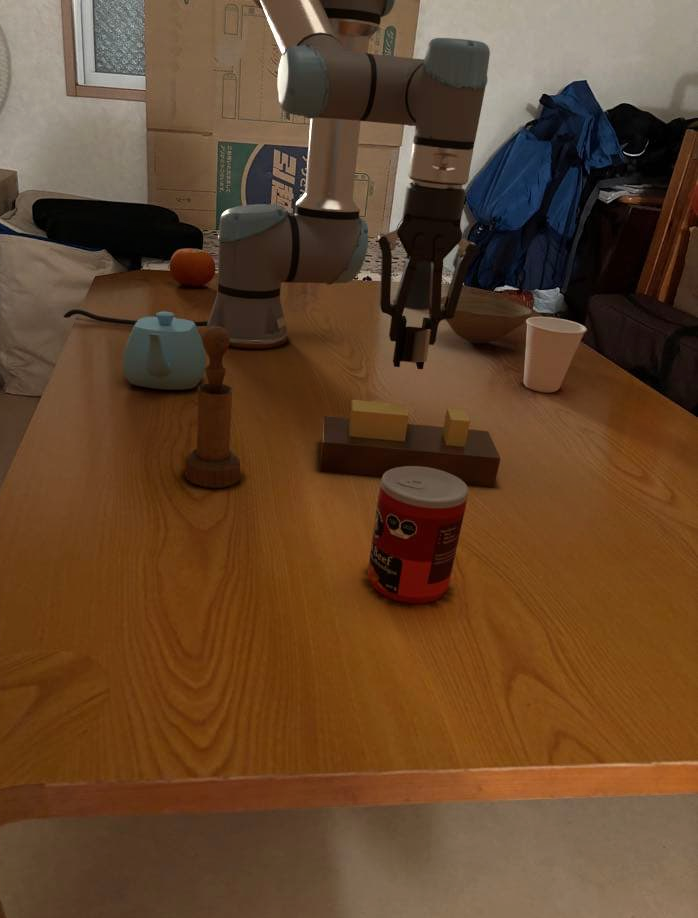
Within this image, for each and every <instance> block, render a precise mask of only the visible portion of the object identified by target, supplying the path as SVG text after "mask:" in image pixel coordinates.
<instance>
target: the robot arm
mask: <svg viewBox="0 0 698 918" xmlns="http://www.w3.org/2000/svg"><path fill="white" fill-rule="evenodd" d="M252 1H253V3H254V4H255V6H257V7H258V8H259V9H261V10H262V11H263V12H264V14H265V17H266V19H267V21H268V24H269V26H270V29H271V31H272V34H273V36H274V38H275V41H276V44H277V47H278V49H279V52H280V54H281V57H280V61H279V65H278V72H277V92H278V102H279V105H280V108H281V109H282V111H284V113H286V114H288V115H294V116H302V117H303V118H306V119H310V123H309V135H308V136H309V139H308V151H307V164H306V174H305V175H306V176H305V190H304V193H303V195H302V196H301V197H300V198H299V199H298V200H297V201H296V202H295V211H294V214H287V213H288V212H287V209H286V207H285V206H284V205H281V204H274V203H272V204H270V203H269V204H267V203H255V204H244V205H238V206H234V207H231V208H228V209H226V210H225V211H223V213H222V214H221V216H220V220H219V227H218V236H217V242H218V257H217V258H218V261H217V293H216V297H215V300H214V302H213V306H212V309H211V312H210V315H209V317H208V320H197V321H195V320H194V321H193V322H194V323H195V325H196V327H206V330H207V329H208V328H210V327H222V328H223V329H225V330H226V331H227V333H228V335H229V338H230V344H229V348H230V347H231V348H236V349H237V348H238V349H248V350H249V349H250V350H261V349H263V350H264V349H273V348H277V347H280V346H283V345H284V344H286V343H287V339H288V328H287V322H286V318H285V316H284V310H283V307H282V303H281V287H282V283H289V284H290V283H294V284H296V283H297V284H298V283H299V284H325V285H335V284H349V283H350V282H352V281H354V279H355V278H357V276H358V275H359V273H360V272H361V270H362V268H363V266H364V262H365V260H366V257H367V252H368V247H369V235H368V233H369V227H368V223H367V221H366V220H365V219H364V218H362V217H361V216H360V213H361V212H360V211H361V208H360V206H359V205H358V203H357V202H356V201H355V199H354V189H355V188H354V187H355V180H356V179H355V178H356V169H357V159H358V151H359V142H360V141H359V140H360V132H361V122H370V123H376V124H377V123H380V124H388V125H389V124H390V125H401V126H409V127H415V128H414V135H413V138H412V139H413V140H412V147H411V148H412V149H411V154H410V161H409V167H408V175H407V177H408V178H409V179H410V180H411V182H410V183H408V185H406V188H405V195H404V201H403V202H404V203H403V208H402V216H401V220H400V221H399V222H398V224H397V225H396V229H394V230H391V231H389V232H387V233H382V232H381V233H379V234H378V236H377V242H378V246H379V249H380V252H381V258H380V259H381V261H380V262H381V263H380V289H379V290H380V292H379V293H380V294H379V295H380V296H379V306H380V310H381V312H382V313H383V314H387V315H389V316H390V317H391V319H390V326H389V332H388V336H389V341H390V342H395V343H394V350H393V356H392V364H393V367H394V368H400V367H401V361H400V360H401V354H402V348H403V342H404V335H405V329H406V327H407V323H408V320H407V317H406V315H403V314H404V311H405V308H406V307H405V304H406V301H407V297H408V294H409V290H410V287H411V283H412V280H413V276H414V273H415V270H416V268H417V265H418V262H420V261H428V262H431V283H430V308H429V309H428V310H429V313H428V315H429V316H428V317H423V319H422V324H421V328H427V330H431V331H430V339H429V346H434V345H435V343H436V341H437V333H438V329H439V325H440V322H442V321H444V320H445V319H451V318H453V316H454V314H455V310H456V307H457V304H458V300H459V297H460V295H462V290H463V287H464V283H465V279H466V276H467V274H468V270H469V267H470V264H471V262H472V261H473V259H474V258H475V257H476V255H477V253H478V252H479V247H478V246H477V244H476V243H475V242H474V241H469V240H468V239H467V238H465V237H464V236H463V230H462V227H461V222H462V216H463V211H464V205H465V200H466V195H467V192H466V190H465V189H464V188H463V186H465V185H466V184H468V183H469V177H470V173H471V172H470V171H471V166H472V165H471V164H472V160H473V155H474V148H475V143H476V138H477V133H478V128H479V123H480V117H481V113H482V107H483V103H484V97H485V92H486V87H487V85H488V81H489V80H488V79H489V78H488V70H489V63H490V56H491V51H490V47H489V45H488V44H486V43H485V42H483V41H481V40H479V41H478V40H473V39H466V38H465V39H463V38H452V37H436V38H432V39H430V41H429V42H428V44H427V47H426V51H425V56H424V58H413V57H406V56H405V57H404V56H396V55H395V56H393V55H385V54H374V53H369V46H370V39H371V37H372V36H374V34H375V33H376V32H378V30H379V29H380V28H381V19H382V18H384V17H386V16H388V15H389V14H390V13H391V11H392V9H394V6H395V2H396V1H395V0H252ZM398 240H399V241H400V243H401V245H402V247H403V249H404V251H405V253H406V257H405V261H404V263H405V266H404V265H403V269H404V270H402V274H401V277H400V281H399V284H398V288H397V292H396V295H395V298H394V302H393V303H391V291H392V268H393V267H392V264H393V263H392V262H393V255H392V251H393V250H395V248H396V243H397V241H398ZM457 245H458V247H457ZM456 247H457V255H458V258H457V260H456V263H455V267H454V270H453V274H452V277H451V281H450V285H449V288H448V291H447V294H446V296H447V298H446V301H445V305H444V308H441V297H442V288H443V287H442V286H443V270H444V259H446V257H448V255H450V253H451V252H452V251H453V250H454V249H455V248H456ZM75 315H81V316H84V317H87V318H89V319H92V320H95V321H98V322H103V323H104V322H105V323H110V324H112V323H113V324H119V325H127V326H128V325H129V326H134V325H135V324H136V322H137V321H138V320H134V319H127V318H126V319H125V318H117V317H110V316H102V315H97V314H95V313H92V312H90V311H87V310H84V309H80V308H79V309H78V308H74V309H70V310H68V311H67V312H66V313H65V314H64V315H63V318H66V319H67V318H68V319H69V318H71V317H72V316H75ZM415 365H416V369H417V370H424V365H425V362H422V363H415Z"/></svg>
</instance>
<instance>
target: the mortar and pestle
mask: <svg viewBox="0 0 698 918" xmlns="http://www.w3.org/2000/svg"><path fill="white" fill-rule="evenodd" d="M201 339H202V342H203V346H204V351H205V353H206V354H207V356H208V360H209V361H208V364H207V365H206V370H205V374H206V379H207V383H202V384H200V385H197V415H196V416H197V419H196V448H194V449H193V450H192V451H191V452H190V453H187V455H186V457H185V459H184V477H185V479H186V480H187V481H188V482H189V483H190V484H193V485H196V486H200V487H202V488H208V489H209V488H210V489H218V488H220V489H221V488H227V487H231V486H233V485H236V484H237V483H239V481H240V478H241V460H240V458H239V457H238V456H237V455H236V454H235V453H234V452H233V451H231V450H230V449H231V424H232V406H233V405H232V404H233V403H232V402H233V388H232V387H231V386H230V385H227V384H224V383H223V382H224V380H225V377H226V371H227V368H226V367H225V366H224V364H223V359H224V356H225V354H226V352H227V351H228V349H229V348H230V346H229V344H230V338H229V335H228V333H227V331H226V330H225V329H223V328H222V327H210V328H208V329H207V328H206V329H205V331H204V333H203V334H202V337H201Z"/></svg>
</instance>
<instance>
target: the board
mask: <svg viewBox="0 0 698 918" xmlns="http://www.w3.org/2000/svg"><path fill="white" fill-rule="evenodd" d="M349 421H350V417H349V418H348V417H339V416H329V415H324V416H323V422H322V431H321V432H322V433H321V440H320V462H319V465H320V466H319V472H324V473H325V472H326V473H335V474H336V473H337V474H345V475H346V474H347V475H357V476H358V475H359V476H368V477H369V476H370V477H379V478H382V477H383V474H384V473H385V472H387V471H388V470H390V469H393V468H397V467H404V466H421V467H429V468H434V469H438V470H442V471H444V472H447V473H450V474H452V475H454V476H456V477H458V478H459V479H461V480H462V481H463V482H464V483H465V484H466V485H467V486H478V487H479V486H480V487H489V488H494V487H495V485H496V484H495V483H496V480H497V476H498V471H499V467H500V462H501V456H500V453H499V451H498V449H497V447H496V445H495V443H494V440H493V439H492V437H491V434H490V432H489V431H488V430H480V429H470V428H469V429H468V434H467V439H466V444H465V447H459V446H449V445H446V443H445V440H444V437H443V428H444V426H437V425H436V426H435V425H425V424H414V423H408V424H407V430H406V436H405V441H393V440H382V439H372V438H361V437H350V436H349Z"/></svg>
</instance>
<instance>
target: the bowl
mask: <svg viewBox="0 0 698 918" xmlns="http://www.w3.org/2000/svg"><path fill="white" fill-rule="evenodd" d="M446 298H447V295H445V296H441V308H444V305H445V301H446ZM532 314H533V311H532V310H531V309H530V308H528V307H526V306H524V305H522V304H518V303H515V302H511V301H505V300H501V299H499V298H498V299H497V298H493V297H487V296H481V295H471V294H460V297H459V300H458V304H457V307H456V310H455V314H454V316H453V318H451V319H444V320H445V321H446V322H447V324H448V326H449V327H450V328H451V330H452V331H453V332H454V333H455V334H456V335H457V336H458V337H460V338H461V339H463V340H465V341H467V342H469V343H472V344H487V343H492V342H496V341H498V340H501V339H503V338H505V337H506V336H507V335H508V334H509V333H511V332H513V331H514V330H516V329H517V328H519V327H520V326H522V325H523V324H525V323H526V320H527V319H528V318H531V317H532Z"/></svg>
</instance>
